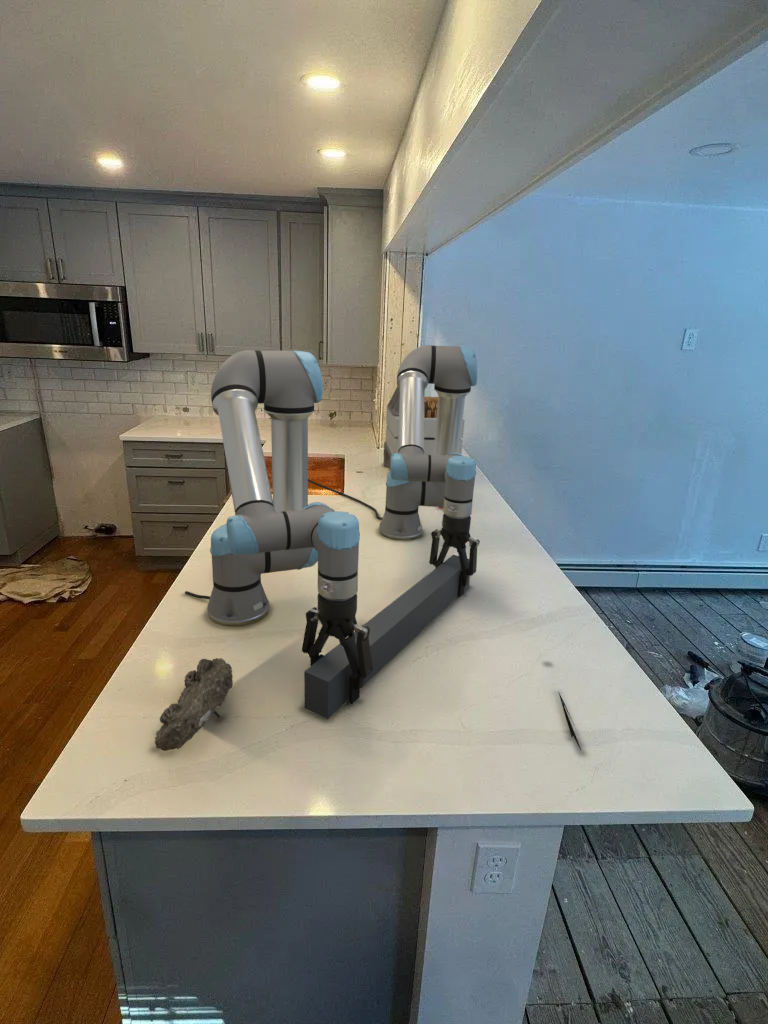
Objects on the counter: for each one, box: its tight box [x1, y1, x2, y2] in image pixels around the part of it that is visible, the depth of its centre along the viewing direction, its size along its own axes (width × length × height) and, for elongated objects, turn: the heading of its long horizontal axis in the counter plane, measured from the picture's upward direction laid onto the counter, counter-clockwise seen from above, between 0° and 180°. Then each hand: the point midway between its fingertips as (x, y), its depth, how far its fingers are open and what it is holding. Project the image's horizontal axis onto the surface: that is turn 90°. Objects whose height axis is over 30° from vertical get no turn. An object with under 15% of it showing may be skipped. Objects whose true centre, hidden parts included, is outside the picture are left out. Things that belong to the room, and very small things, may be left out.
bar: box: [303, 554, 471, 720], centre depth 136 cm, size 68×6×9 cm, turn 149°
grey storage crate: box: [383, 385, 465, 472], centre depth 268 cm, size 34×33×41 cm
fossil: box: [154, 657, 234, 752], centre depth 107 cm, size 22×10×15 cm
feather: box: [546, 662, 582, 751], centre depth 116 cm, size 2×28×2 cm
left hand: (335, 692), depth 115 cm, fingers open, 8 cm apart
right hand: (450, 591), depth 160 cm, fingers closed on bar, 6 cm apart
